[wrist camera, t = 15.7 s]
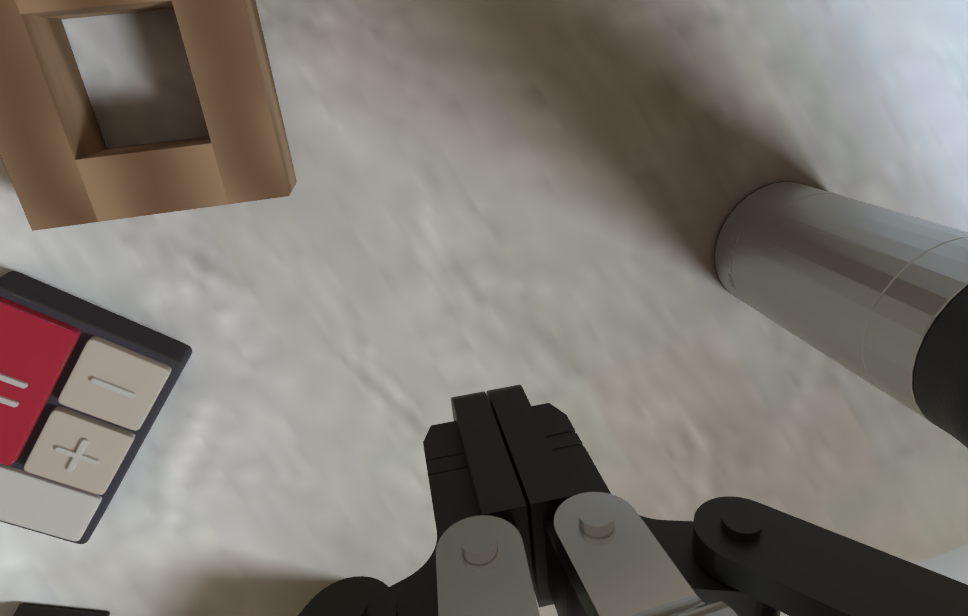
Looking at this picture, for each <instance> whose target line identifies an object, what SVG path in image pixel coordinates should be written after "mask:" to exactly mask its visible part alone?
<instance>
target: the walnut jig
mask: <svg viewBox="0 0 968 616" xmlns="http://www.w3.org/2000/svg"><path fill="white" fill-rule="evenodd" d="M166 9H174V11H175V14H176V18H177V21H178V25H179V29H180V32H181V36H182V39H183V43H184V46H185V50H186V54H187V57H188V61H189V64H190V68H191V72H192V75H193V79H194V82H195V86H196V90H197V93H198V97H199V100H200V104H201V108H202V111H203V115H204V118H205V122H206V125H207V129H208V133H209V136H210V137H201V138H193V139H185V140H176V141H168V142H160V143H151V144H143V145H135V146H126V147H118V148H110V149H106V146H105V143H104V140H103V138H102V135H101V132H100V129H99V126H98V123H97V121H96V118H95V115H94V112H93V109H92V106H91V103H90V101H89V98H88V95H87V92H86V89H85V86H84V83H83V81H82V78H81V75H80V72H79V69H78V66H77V63H76V61H75V58H74V55H73V52H72V49H71V46H70V44H69V41H68V38H67V35H66V32H65V29H64V26H63V24H62V21H61V19H68V18H79V17H90V16H101V15H112V14H122V13H133V12H144V11H155V10H166ZM0 156H1V158H2V160H3V163H4V165H5V167H6V170H7V172H8V175H9V177H10V179H11V182H12V184H13V186H14V189H15V191H16V193H17V196H18V198H19V200H20V203H21V205H22V208H23V210H24V212H25V215H26V217H27V219H28V222H29V224H30V226H31V229H32V231H33V230H40V229H48V228H55V227H63V226H70V225H77V224H85V223H92V222H100V221H107V220H114V219H122V218H129V217H137V216H144V215H151V214H159V213H166V212H174V211H181V210H188V209H196V208H203V207H211V206H218V205H225V204H233V203H240V202H248V201H255V200H262V199H270V198H277V197H284V196H289V195H290V193H291V191H292V190H293V188H294V186H295V184H296V177H295V173H294V168H293V164H292V160H291V155H290V151H289V146H288V142H287V138H286V133H285V129H284V124H283V120H282V116H281V111H280V107H279V102H278V98H277V94H276V89H275V85H274V80H273V76H272V72H271V67H270V63H269V58H268V54H267V50H266V45H265V41H264V36H263V32H262V28H261V23H260V19H259V14H258V10H257V5H256V1H255V0H0Z"/></svg>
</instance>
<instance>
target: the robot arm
mask: <svg viewBox="0 0 968 616" xmlns="http://www.w3.org/2000/svg"><path fill="white" fill-rule="evenodd" d="M715 266H716V270H717V274H718V277H719V279H720V281H721V283H722V284H723V286H724V287H725V288H726V289H727V290H728V291H729V292H730V293H731V294H732V295H734V296H735V297H737V298H738V299H740V300H741V301H743V302H745V303H746V304H748V305H749V306H751V307H752V308H754V309H755V310H757V311H759V312H760V313H762V314H763V315H764V316H766V317H767V318H769V319H770V320H772V321H774V322H775V323H777V324H778V325H780V326H781V327H783V328H785V329H786V330H788V331H789V332H791V333H792V334H794V335H795V336H797V337H799V338H800V339H802V340H803V341H805V342H806V343H808V344H809V345H811V346H813V347H814V348H816V349H817V350H819V351H820V352H822V353H823V354H825V355H827V356H828V357H830V358H831V359H833V360H834V361H836V362H837V363H839V364H841V365H842V366H844V367H845V368H847V369H848V370H850V371H852V372H853V373H855V374H856V375H858V376H859V377H861V378H862V379H864V380H866V381H867V382H869V383H870V384H872V385H873V386H875V387H876V388H878V389H880V390H881V391H883V392H885V393H886V394H888V395H889V396H891V397H892V398H894V399H896V400H897V401H899V402H900V403H902V404H903V405H905V406H907V407H908V408H910V409H911V410H913V411H914V412H916V413H917V414H919V415H921V416H922V417H924V418H925V419H927V420H928V421H930V422H932V423H933V424H935V425H936V426H938V427H939V428H941V429H943V430H944V431H946V432H947V433H949V434H950V435H952V436H953V437H955V438H956V439H957V440H959V441H960V442H961V443H962V444H963V445H965V446H966V447H967V448H968V232H965V231H962V230H958V229H955V228H951V227H948V226H944V225H941V224H937V223H934V222H931V221H927V220H924V219H920V218H917V217H913V216H910V215H906V214H903V213H899V212H896V211H892V210H889V209H885V208H882V207H878V206H875V205H871V204H868V203H865V202H861V201H858V200H854V199H851V198H847V197H844V196H841V195H838V194H834V193H831V192H827V191H824V190H820V189H817V188H813V187H810V186H806V185H803V184H800V183H793V182H781V183H774V184H771V185H768V186H765V187H763V188H760V189H759V190H757V191H755V192H754V193H752V194H750V195H749V196H747V197H746V198H745V199H744V200H743V201H742V202H741V203H739V204H738V205H737V207H736V208H735V209H734V210H733V211H732V213H731V214H730V215H729V216H728V218H727V220H726V222H725V223H724V225H723V227H722V229H721V231H720V234H719V237H718V240H717V244H716V250H715ZM451 403H452V410H453V417H454V421H453V422H448V423H442V424H437V425H432V426H431V427H430V429H429V431H428V433H427V435H426V438H425V440H424V442H423V445H424V451H425V458H426V464H427V470H428V477H429V483H430V490H431V496H432V503H433V509H434V516H435V522H436V528H437V543H436V546H435V549H434V551H433V553H432V555H431V557H430V558H429V559H428V561H427V562H426V563H425V564H424V565H423V566H422V567H421V568H420V569H419V570H418V571H416V572H415V573H414V574H412V575H411V576H409V577H407V578H406V579H404V580H402V581H400V582H398V583H396V584H394V585H392V586H391V587H388V586H387V585H386V584H384V583H383V582H381V581H379V580H377V579H374V578H371V577H363V576H361V577H351V578H346V579H343V580H340V581H338V582H335V583H333V584H331V585H329V586H328V587H326V588H325V589H323V590H322V591H321V592H319V593H318V594H317V595H316V596H315V597H314V598H313V599H312V600H311V601H310V602H309V603H308V605H307V606H306V607H305V608H304V609H303V610H302V612H301V613H300V614H299V615H298V616H540V615H539V611H538V606H537V602H538V605H539V607H543V606H547V605H552V604H554V605H555V607H556V610H557V613H558V616H780V611H781V612H783V613H785V614H787V615H789V616H968V585H966V584H964V583H961V582H959V581H956V580H954V579H951V578H948V577H946V576H944V575H941V574H938V573H936V572H933V571H931V570H928V569H926V568H923V567H921V566H918V565H916V564H913V563H911V562H908V561H905V560H903V559H900V558H898V557H895V556H893V555H890V554H888V553H885V552H883V551H880V550H877V549H875V548H872V547H870V546H867V545H865V544H862V543H860V542H857V541H855V540H852V539H850V538H847V537H844V536H842V535H839V534H837V533H834V532H832V531H829V530H827V529H824V528H822V527H819V526H816V525H814V524H811V523H809V522H806V521H804V520H801V519H799V518H796V517H794V516H791V515H789V514H786V513H783V512H781V511H778V510H776V509H773V508H771V507H768V506H766V505H763V504H761V503H758V502H755V501H752V500H749V499H745V498H740V497H719V498H715V499H711V500H709V501H707V502H705V503H704V504H702V505H701V506H700V507H699V508H698V509H697V511H696V513H695V516H694V522H692V521H669V520H656V519H650V518H646V517H643V516H640V515H639V514H638V513H637V512H636V510H635V509H634V508H633V507H632V506H631V505H630V504H629V503H628V502H626V501H625V500H623V499H622V498H620V497H617V496H615V495H612V494H611V493H610V491H609V489H608V488H607V486H606V484H605V482H604V480H603V479H602V477H601V475H600V473H599V472H598V470H597V468H596V466H595V465H594V463H593V461H592V459H591V458H590V456H589V454H588V452H587V451H586V449H585V447H584V446H583V445H582V442H581V440H580V438H579V437H578V435H577V433H575V429H574V428H573V426H572V424H571V422H570V421H569V419H568V417H567V415H566V414H564V413H563V412H561V411H560V410H559V409H557V408H556V407H554V406H553V405H551V404H550V403H546V404H541V405H536V406H531V405H530V403H529V401H528V399H527V396H526V394H525V392H524V390H523V388H522V386H521V385H516V386H510V387H505V388H500V389H494V390H489V391H487V395H486V393H485V392H479V393H473V394H468V395H463V396H457V397H452V398H451ZM534 592H535V593H534ZM535 595H536V597H535ZM536 599H537V602H536Z"/></svg>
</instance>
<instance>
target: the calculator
mask: <svg viewBox="0 0 968 616" xmlns="http://www.w3.org/2000/svg"><path fill="white" fill-rule="evenodd" d="M191 354H192V349H191V347H190V346H188V345H186V344H184V343H182V342H180V341H177V340H175V339H173V338H170V337H168V336H166V335H163V334H161V333H159V332H156V331H154V330H152V329H149V328H147V327H145V326H143V325H140V324H138V323H136V322H133V321H131V320H129V319H126V318H124V317H122V316H119V315H117V314H115V313H112V312H110V311H108V310H105V309H103V308H101V307H98V306H96V305H94V304H91V303H89V302H87V301H84V300H82V299H80V298H78V297H75V296H73V295H71V294H68V293H66V292H64V291H61V290H59V289H57V288H54V287H52V286H50V285H47V284H45V283H43V282H40V281H38V280H36V279H33V278H31V277H29V276H26V275H24V274H22V273H19V272H16V271H12V272H9V273H7V274H5V275H4V276H2V277H0V521H1V522H4V523H8V524H11V525H15V526H18V527H22V528H25V529H29V530H32V531H35V532H39V533H42V534H46V535H49V536H53V537H56V538H60V539H63V540H67V541H70V542H74V543H77V544H84V543H86V542H87V541H88V540H89V538H90V537H91V535H92V533H93V532H94V530H95V528H96V526H97V525H98V523H99V521H100V519H101V518H102V516H103V514H104V512H105V510H106V509H107V507H108V505H109V503H110V501H111V500H112V498H113V496H114V494H115V492H116V490H117V489H118V487H119V485H120V483H121V481H122V480H123V478H124V476H125V474H126V472H127V470H128V469H129V467H130V465H131V463H132V461H133V459H134V458H135V456H136V454H137V452H138V450H139V449H140V447H141V445H142V443H143V441H144V439H145V438H146V436H147V434H148V432H149V430H150V429H151V427H152V425H153V423H154V421H155V419H156V418H157V416H158V414H159V412H160V410H161V409H162V407H163V405H164V403H165V401H166V399H167V398H168V396H169V394H170V392H171V390H172V389H173V387H174V385H175V383H176V381H177V379H178V378H179V376H180V374H181V372H182V370H183V369H184V367H185V365H186V363H187V361H188V359H189V358H190V356H191Z"/></svg>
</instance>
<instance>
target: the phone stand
mask: <svg viewBox="0 0 968 616" xmlns="http://www.w3.org/2000/svg"><path fill="white" fill-rule="evenodd" d="M109 615H110V613H107V612H97V611H87V610H78V609H68V608H58V607H48V606H38V605H28V604H20V605H19V607H18V608H17V610H16V612H15V614H14V616H109Z"/></svg>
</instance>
